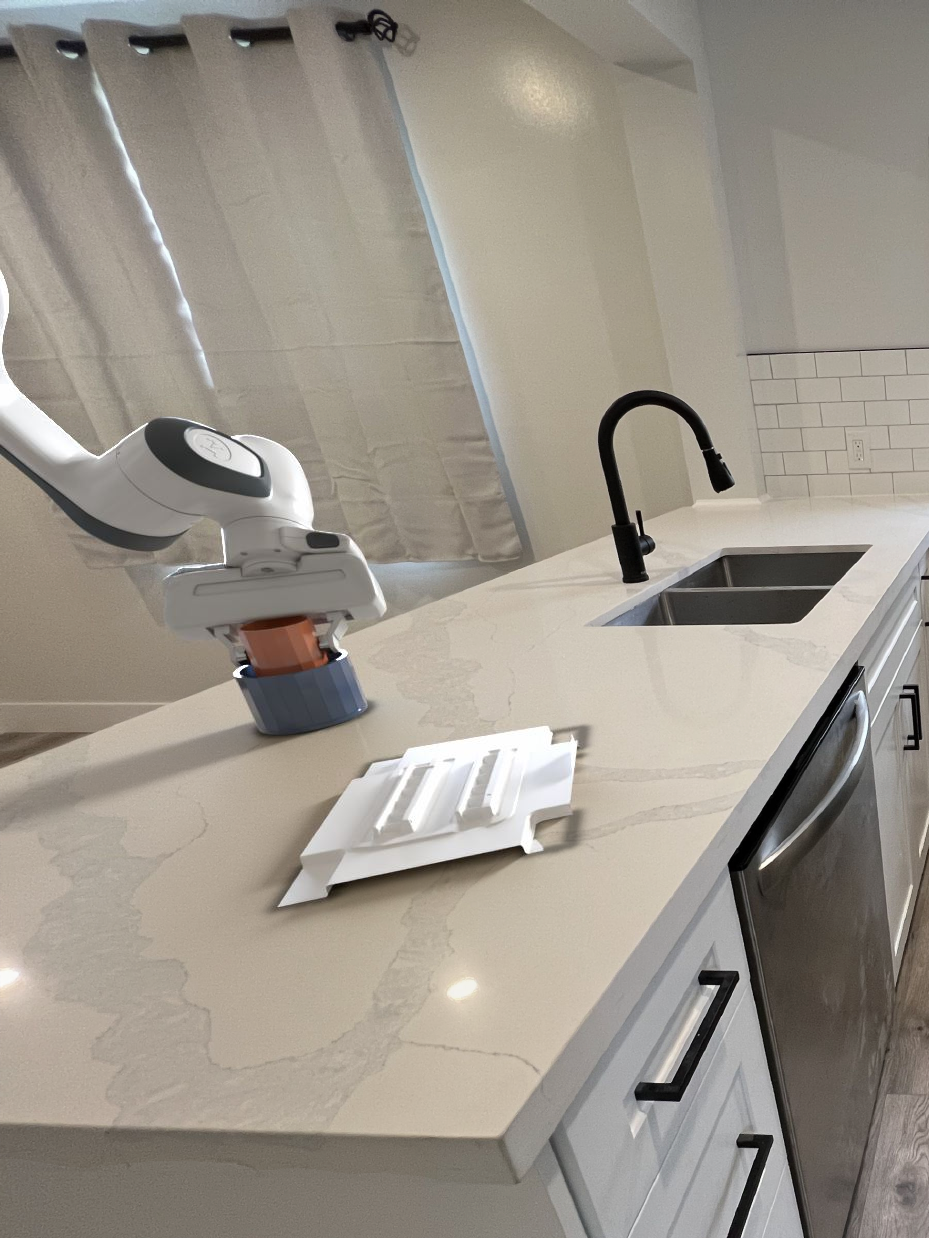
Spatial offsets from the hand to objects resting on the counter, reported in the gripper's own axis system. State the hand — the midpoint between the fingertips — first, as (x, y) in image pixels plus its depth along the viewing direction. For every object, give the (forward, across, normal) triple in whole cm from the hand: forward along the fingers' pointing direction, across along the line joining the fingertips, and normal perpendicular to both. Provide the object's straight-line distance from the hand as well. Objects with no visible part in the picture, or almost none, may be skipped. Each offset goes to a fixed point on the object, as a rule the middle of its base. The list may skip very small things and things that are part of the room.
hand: (287, 657), depth 93 cm
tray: (+30, +17, -18) cm, 39 cm away
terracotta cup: (+3, 0, +4) cm, 5 cm away
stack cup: (+5, 0, +6) cm, 8 cm away
